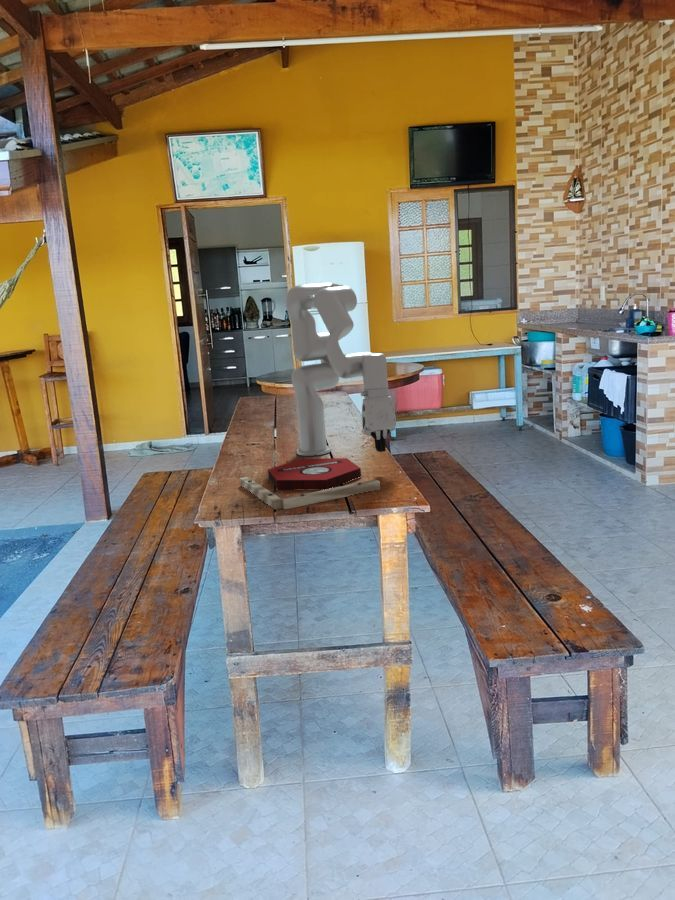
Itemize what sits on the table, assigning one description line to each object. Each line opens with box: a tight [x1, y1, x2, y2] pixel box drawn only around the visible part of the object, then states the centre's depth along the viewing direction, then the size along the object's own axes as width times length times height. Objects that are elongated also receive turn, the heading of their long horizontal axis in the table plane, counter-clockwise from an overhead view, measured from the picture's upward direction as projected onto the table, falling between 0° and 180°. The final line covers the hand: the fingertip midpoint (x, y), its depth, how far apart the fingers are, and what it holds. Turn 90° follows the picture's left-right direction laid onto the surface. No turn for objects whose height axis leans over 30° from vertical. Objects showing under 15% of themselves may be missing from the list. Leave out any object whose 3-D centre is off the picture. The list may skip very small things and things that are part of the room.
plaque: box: [267, 457, 362, 491], centre depth 231 cm, size 27×4×30 cm
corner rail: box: [239, 476, 381, 510], centre depth 221 cm, size 32×32×3 cm
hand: (380, 450), depth 231 cm, fingers closed
